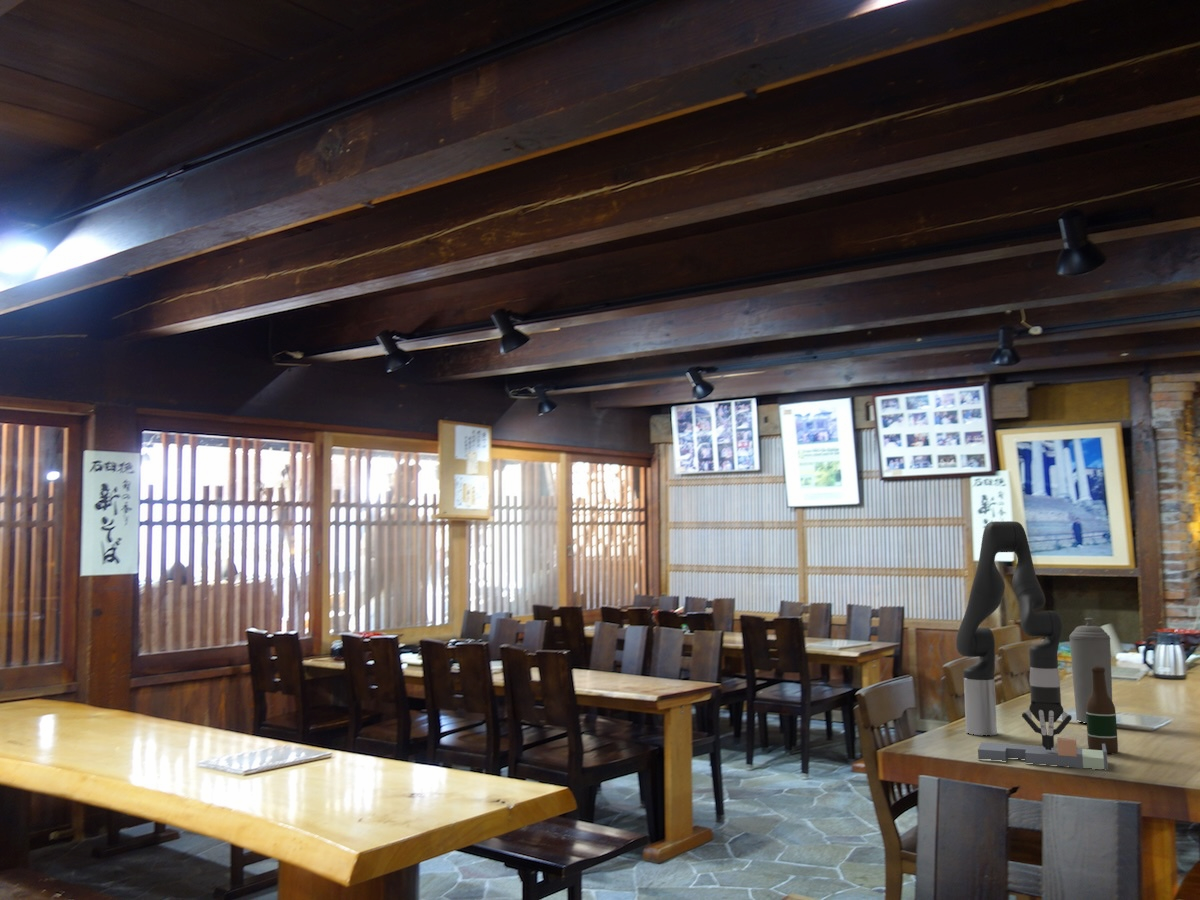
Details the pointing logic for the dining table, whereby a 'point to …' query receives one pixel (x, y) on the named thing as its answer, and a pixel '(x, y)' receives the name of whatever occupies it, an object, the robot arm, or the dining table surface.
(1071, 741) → the block
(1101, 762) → the board
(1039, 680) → the robot arm
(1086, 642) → the canister
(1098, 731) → the beer bottle
